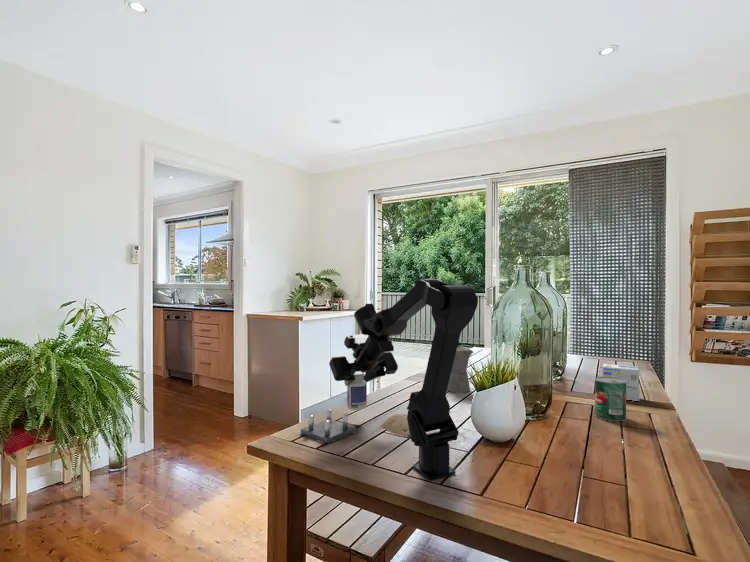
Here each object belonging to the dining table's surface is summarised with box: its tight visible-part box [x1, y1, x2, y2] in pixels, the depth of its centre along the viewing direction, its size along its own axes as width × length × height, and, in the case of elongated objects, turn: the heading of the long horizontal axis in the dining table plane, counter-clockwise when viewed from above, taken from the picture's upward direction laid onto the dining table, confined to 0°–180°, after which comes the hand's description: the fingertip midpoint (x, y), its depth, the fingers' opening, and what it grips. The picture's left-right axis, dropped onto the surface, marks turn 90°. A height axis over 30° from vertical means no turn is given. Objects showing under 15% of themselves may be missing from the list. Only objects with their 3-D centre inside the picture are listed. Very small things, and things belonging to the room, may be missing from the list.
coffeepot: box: [446, 341, 474, 394], centre depth 148 cm, size 15×9×18 cm, turn 44°
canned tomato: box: [594, 376, 627, 422], centre depth 117 cm, size 8×8×11 cm
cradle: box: [300, 408, 357, 444], centre depth 104 cm, size 10×10×5 cm
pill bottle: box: [346, 371, 368, 411], centre depth 113 cm, size 5×5×10 cm
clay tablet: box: [380, 413, 410, 438], centre depth 110 cm, size 14×10×3 cm
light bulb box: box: [602, 363, 641, 402], centre depth 137 cm, size 11×7×11 cm, turn 58°
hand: (354, 383), depth 114 cm, fingers closed on pill bottle, 5 cm apart
